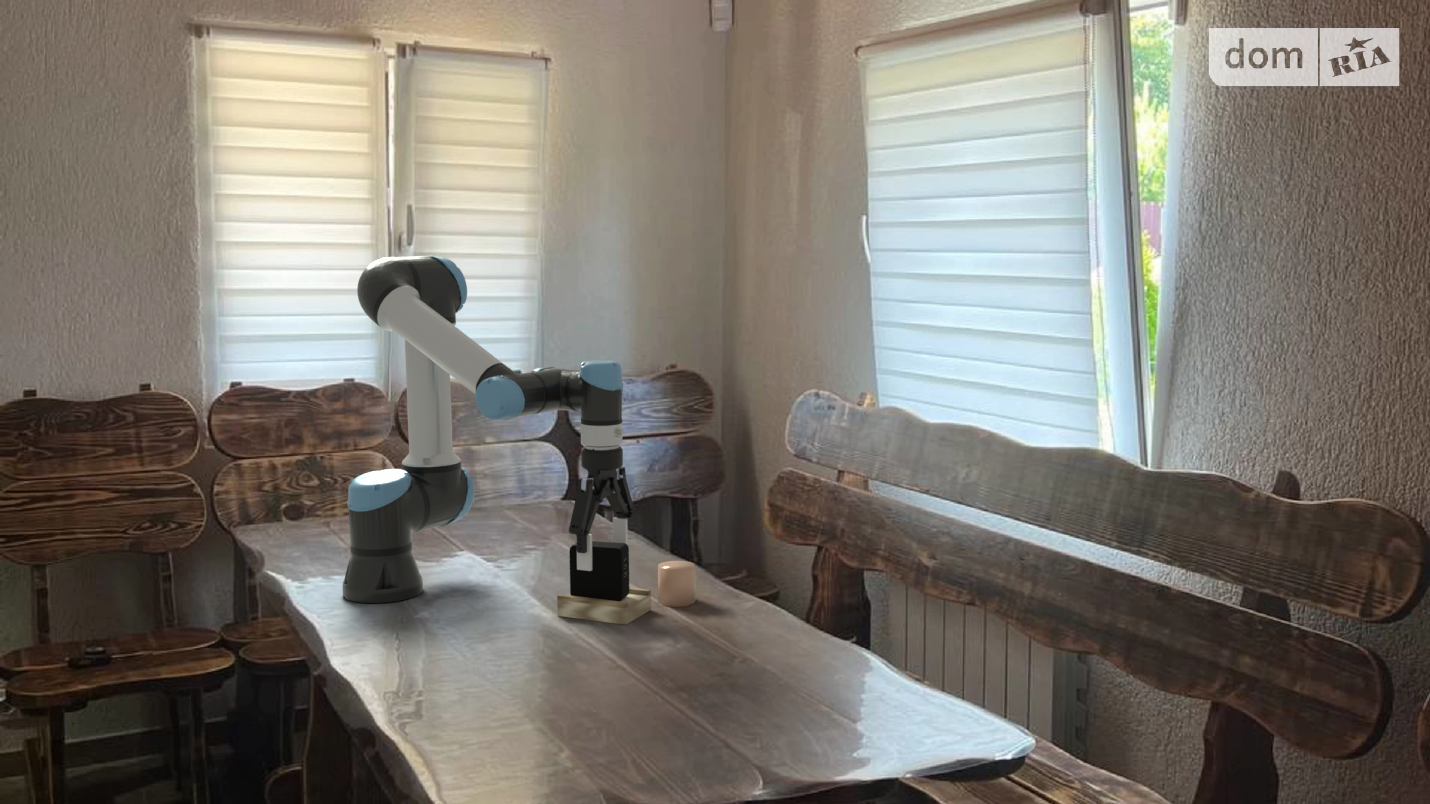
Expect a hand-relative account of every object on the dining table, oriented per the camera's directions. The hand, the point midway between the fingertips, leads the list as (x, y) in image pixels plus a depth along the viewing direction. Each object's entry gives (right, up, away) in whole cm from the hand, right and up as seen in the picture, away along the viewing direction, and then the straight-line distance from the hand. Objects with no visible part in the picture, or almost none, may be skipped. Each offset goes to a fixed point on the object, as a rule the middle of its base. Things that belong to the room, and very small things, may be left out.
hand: (602, 561), depth 239 cm
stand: (0, -10, +1) cm, 10 cm away
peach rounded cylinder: (+13, -9, +8) cm, 18 cm away
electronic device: (-1, -7, 0) cm, 7 cm away
